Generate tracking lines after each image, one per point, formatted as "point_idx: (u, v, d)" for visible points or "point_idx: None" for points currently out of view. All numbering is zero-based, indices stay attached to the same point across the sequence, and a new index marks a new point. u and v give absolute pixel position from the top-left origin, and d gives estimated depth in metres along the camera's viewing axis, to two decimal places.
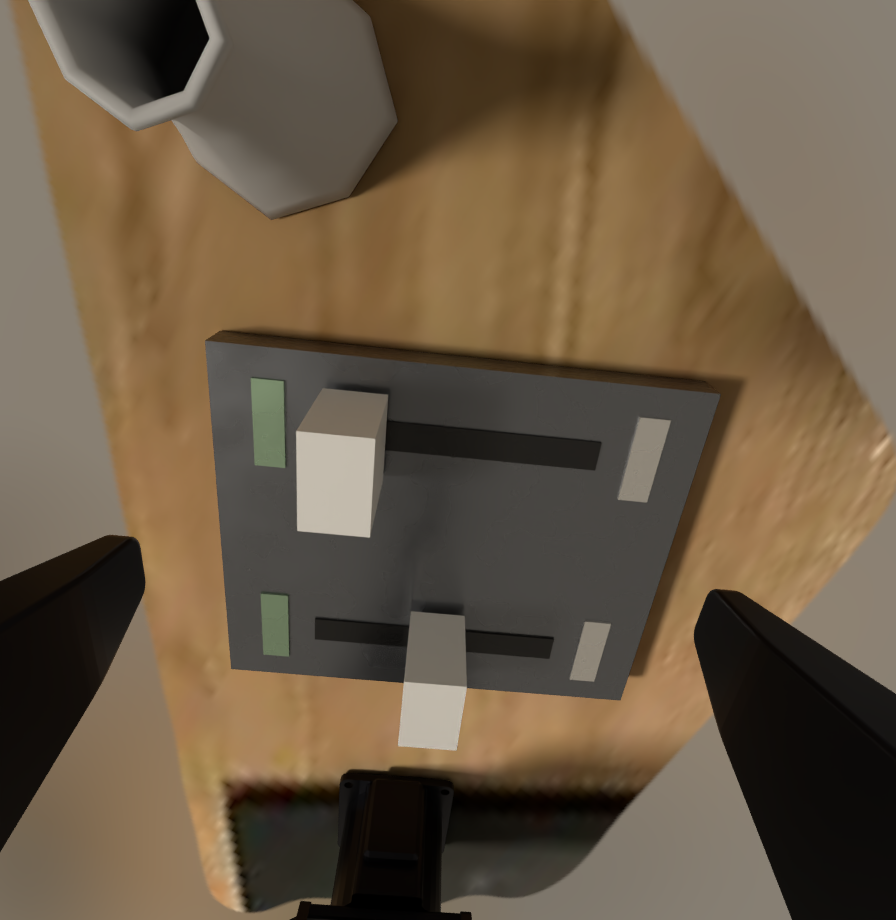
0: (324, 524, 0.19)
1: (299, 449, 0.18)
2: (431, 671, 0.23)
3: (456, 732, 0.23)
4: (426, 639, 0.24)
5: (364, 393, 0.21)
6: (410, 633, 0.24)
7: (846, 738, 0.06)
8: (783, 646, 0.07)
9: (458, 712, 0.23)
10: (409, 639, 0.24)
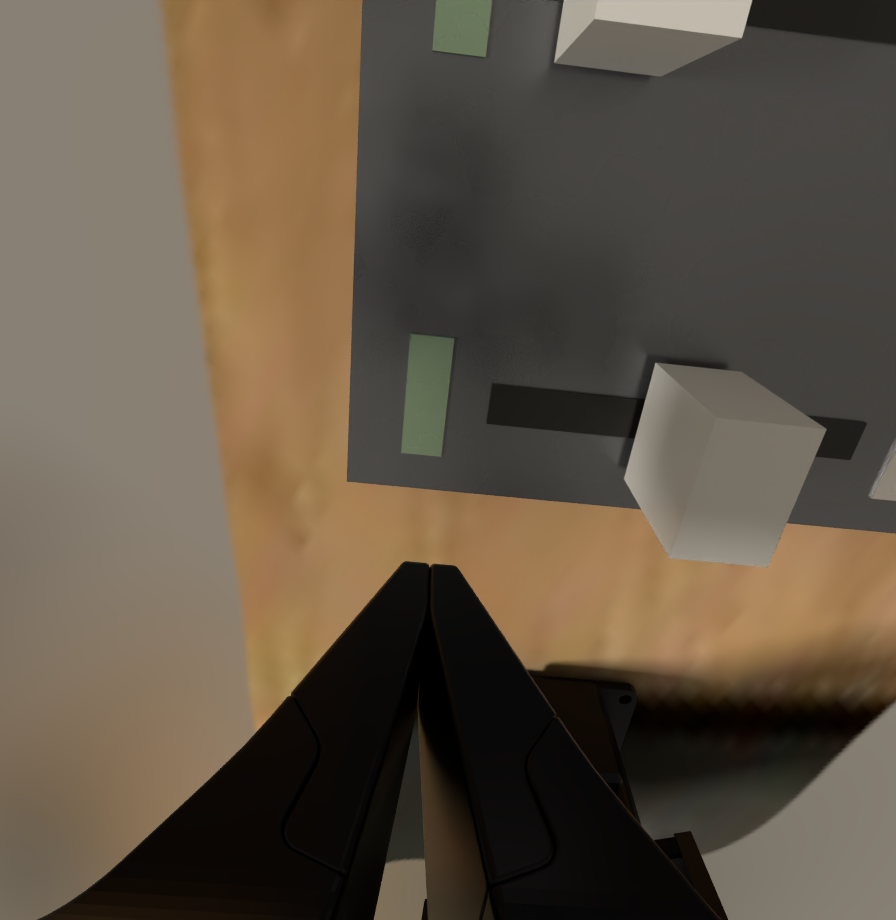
0: None
1: None
2: (749, 411, 0.13)
3: (778, 529, 0.13)
4: (705, 385, 0.14)
5: None
6: (676, 378, 0.14)
7: (444, 706, 0.06)
8: (445, 617, 0.07)
9: (794, 486, 0.13)
10: (680, 383, 0.14)
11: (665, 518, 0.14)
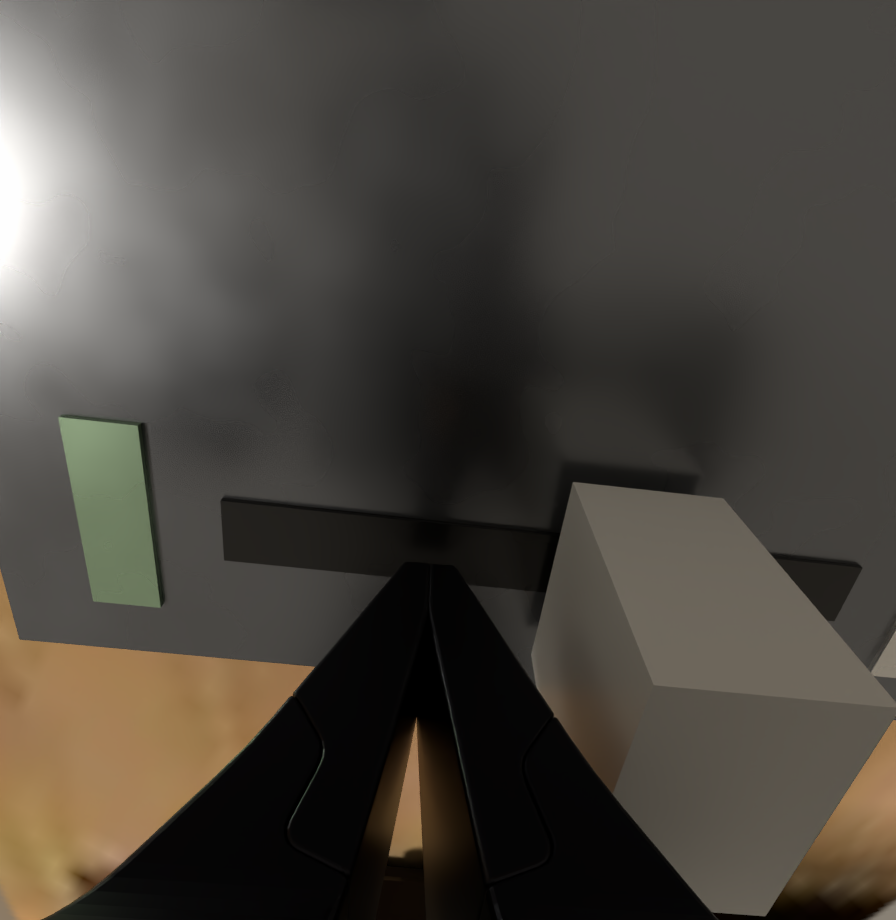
0: None
1: None
2: (730, 646, 0.06)
3: (788, 864, 0.07)
4: (651, 547, 0.08)
5: None
6: (597, 531, 0.08)
7: (442, 706, 0.06)
8: (444, 617, 0.07)
9: (823, 801, 0.06)
10: (602, 546, 0.07)
11: None
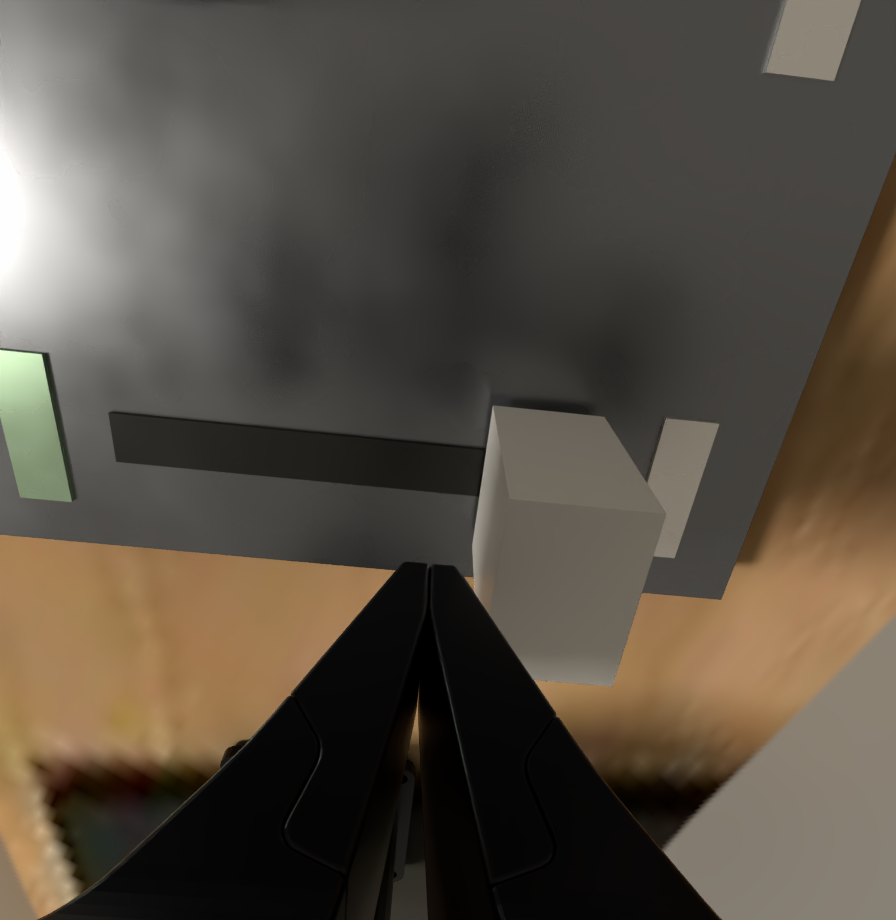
0: None
1: None
2: (568, 485, 0.09)
3: (619, 640, 0.10)
4: (536, 440, 0.11)
5: None
6: (501, 430, 0.11)
7: (444, 706, 0.06)
8: (445, 617, 0.07)
9: (632, 587, 0.09)
10: (501, 438, 0.11)
11: None
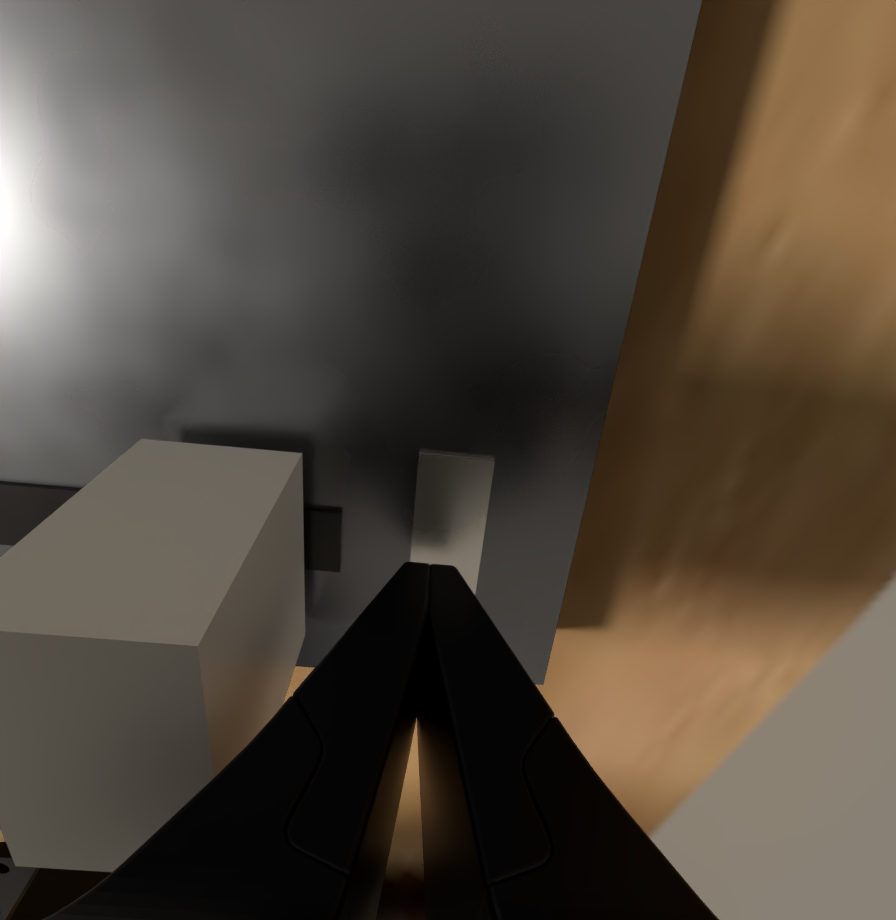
0: None
1: None
2: (79, 588, 0.06)
3: None
4: (137, 497, 0.07)
5: None
6: (93, 482, 0.07)
7: (442, 706, 0.06)
8: (444, 617, 0.07)
9: (192, 751, 0.06)
10: (76, 496, 0.07)
11: None
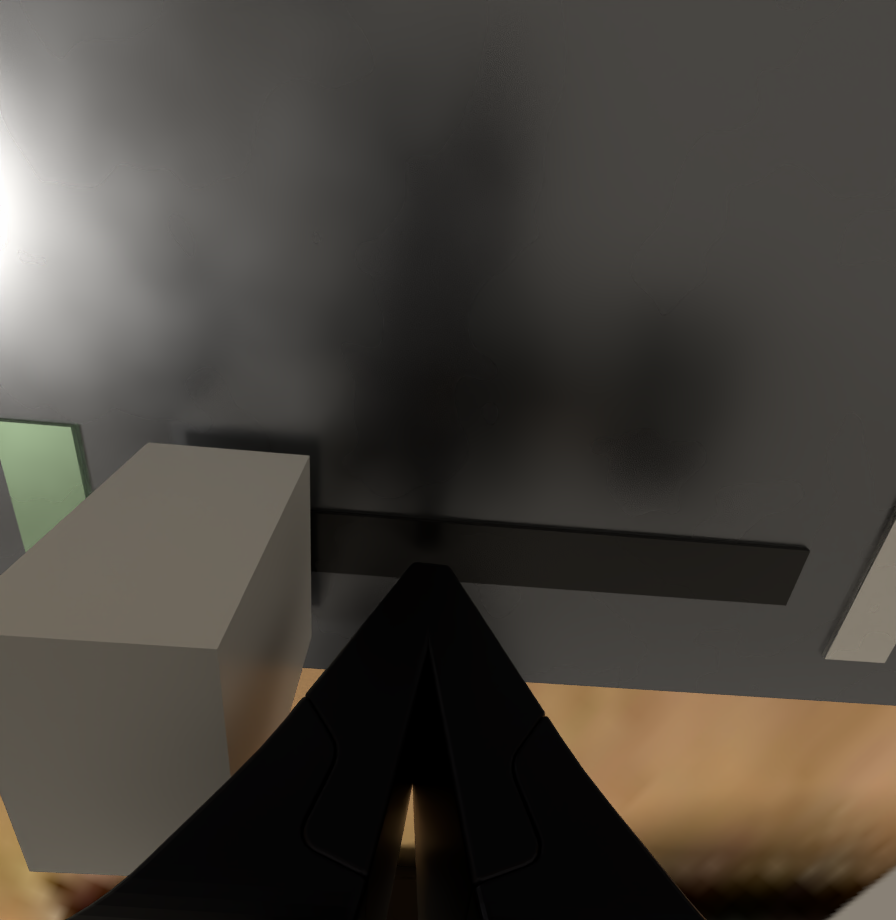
0: None
1: None
2: (95, 593, 0.06)
3: None
4: (147, 500, 0.07)
5: None
6: (103, 487, 0.07)
7: (433, 705, 0.06)
8: (437, 616, 0.07)
9: (211, 753, 0.06)
10: (87, 501, 0.07)
11: None
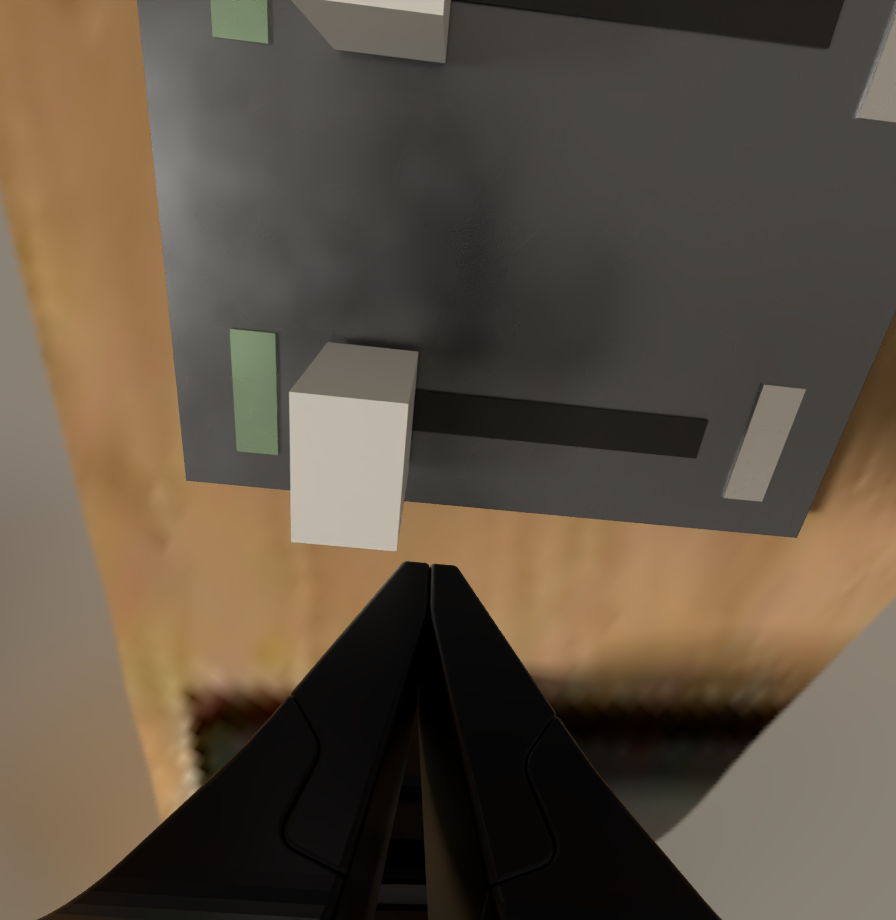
0: None
1: None
2: (344, 387, 0.12)
3: (394, 511, 0.13)
4: (344, 362, 0.14)
5: None
6: (319, 356, 0.14)
7: (444, 706, 0.06)
8: (445, 617, 0.07)
9: (395, 465, 0.12)
10: (315, 360, 0.14)
11: None
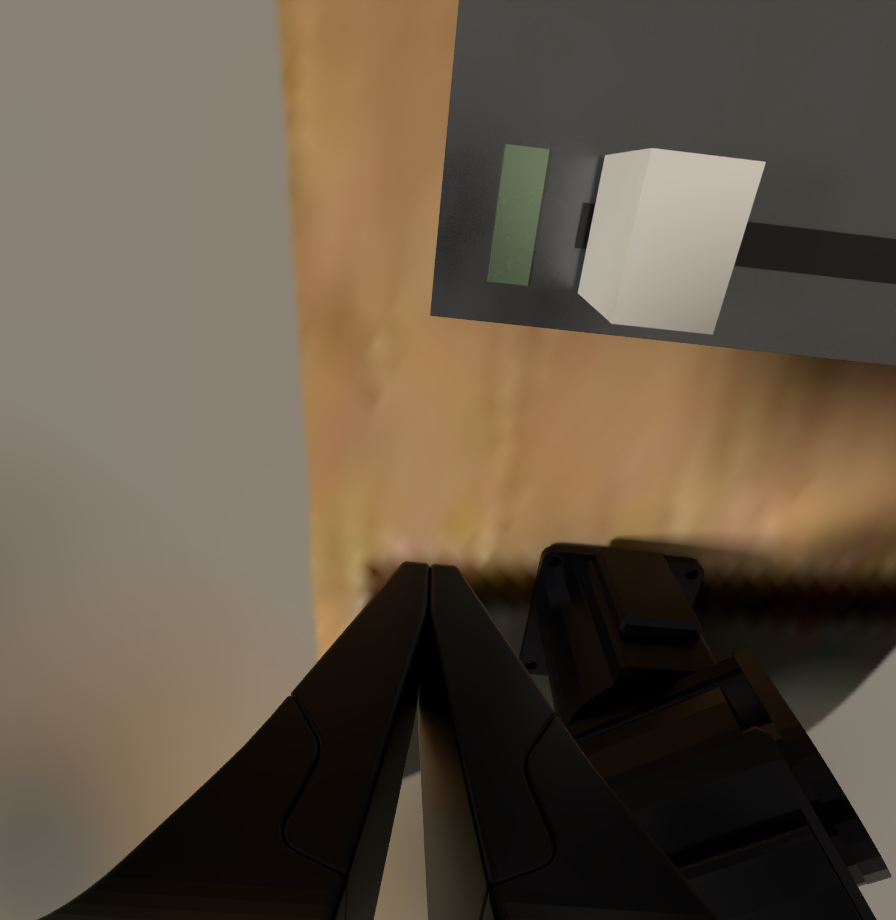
0: None
1: None
2: None
3: (721, 287, 0.13)
4: None
5: None
6: None
7: (444, 706, 0.06)
8: (445, 617, 0.07)
9: (735, 234, 0.13)
10: (624, 152, 0.14)
11: (609, 290, 0.14)
